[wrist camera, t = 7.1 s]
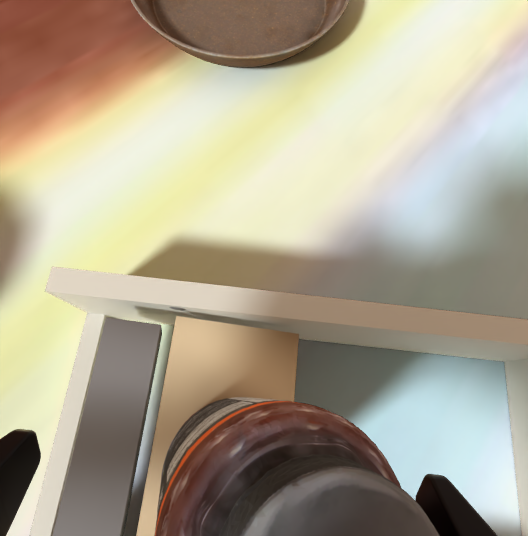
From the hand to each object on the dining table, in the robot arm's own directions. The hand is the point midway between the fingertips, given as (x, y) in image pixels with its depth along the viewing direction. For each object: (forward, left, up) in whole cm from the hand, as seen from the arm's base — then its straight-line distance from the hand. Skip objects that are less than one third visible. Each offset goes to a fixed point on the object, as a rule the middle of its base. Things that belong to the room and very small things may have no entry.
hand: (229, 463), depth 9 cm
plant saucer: (+33, +4, -13) cm, 36 cm away
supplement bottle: (-2, 0, -8) cm, 9 cm away
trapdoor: (-1, +3, -11) cm, 11 cm away
